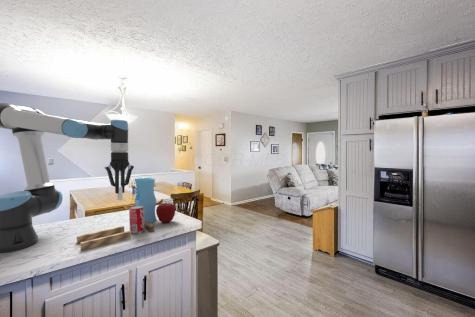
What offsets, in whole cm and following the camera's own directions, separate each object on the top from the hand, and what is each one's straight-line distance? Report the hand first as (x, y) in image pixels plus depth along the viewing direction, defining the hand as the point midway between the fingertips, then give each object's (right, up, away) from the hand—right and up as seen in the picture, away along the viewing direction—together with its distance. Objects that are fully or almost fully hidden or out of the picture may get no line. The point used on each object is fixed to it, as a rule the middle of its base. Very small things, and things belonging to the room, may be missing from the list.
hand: (119, 199), depth 111 cm
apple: (+16, -17, +21) cm, 32 cm away
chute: (-5, -18, -4) cm, 19 cm away
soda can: (+6, -18, +6) cm, 20 cm away
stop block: (+10, -18, +10) cm, 22 cm away
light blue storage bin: (+2, -17, +26) cm, 31 cm away
